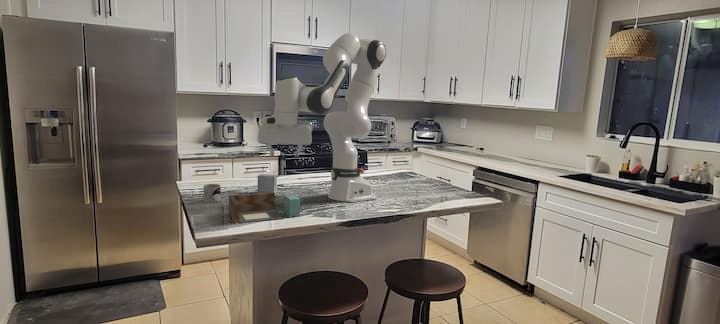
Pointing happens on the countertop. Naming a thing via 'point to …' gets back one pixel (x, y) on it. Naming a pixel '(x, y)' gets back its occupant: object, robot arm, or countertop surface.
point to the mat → (259, 216)
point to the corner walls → (250, 203)
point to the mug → (212, 193)
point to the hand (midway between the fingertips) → (284, 156)
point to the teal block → (292, 205)
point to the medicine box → (267, 183)
